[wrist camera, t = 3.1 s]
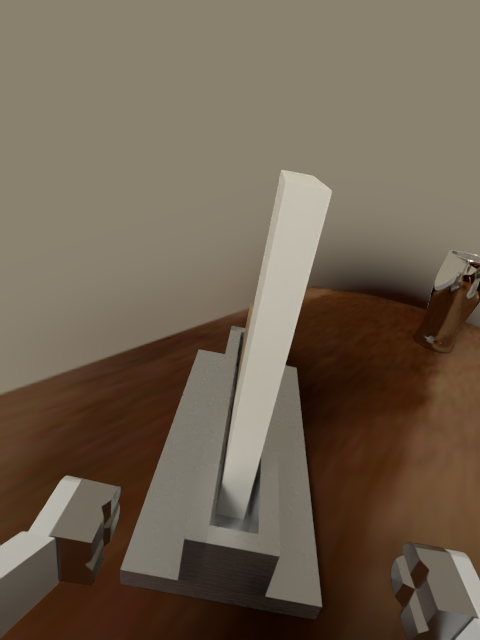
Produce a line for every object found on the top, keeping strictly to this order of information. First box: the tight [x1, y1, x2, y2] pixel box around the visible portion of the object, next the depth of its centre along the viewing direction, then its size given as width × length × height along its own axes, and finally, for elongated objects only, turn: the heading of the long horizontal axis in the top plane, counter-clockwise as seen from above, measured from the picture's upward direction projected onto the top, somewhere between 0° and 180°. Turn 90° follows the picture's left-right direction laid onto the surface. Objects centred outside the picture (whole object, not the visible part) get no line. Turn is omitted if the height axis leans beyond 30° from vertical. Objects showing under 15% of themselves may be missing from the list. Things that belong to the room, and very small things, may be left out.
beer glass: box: [414, 250, 480, 353], centre depth 56 cm, size 7×7×15 cm
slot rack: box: [120, 326, 322, 620], centre depth 32 cm, size 12×25×6 cm, turn 175°
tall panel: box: [216, 170, 332, 519], centre depth 24 cm, size 2×8×22 cm, turn 175°
